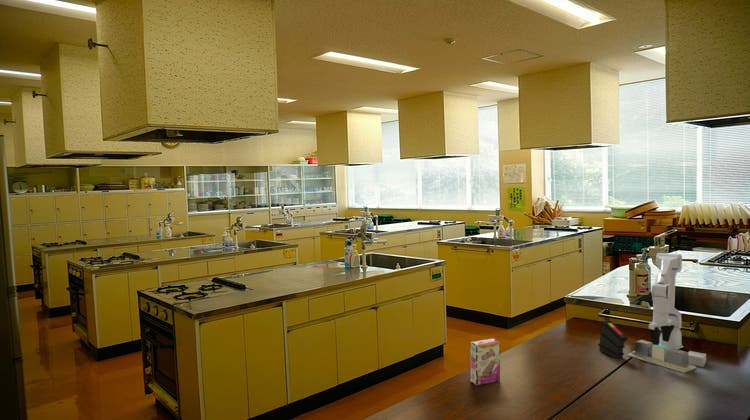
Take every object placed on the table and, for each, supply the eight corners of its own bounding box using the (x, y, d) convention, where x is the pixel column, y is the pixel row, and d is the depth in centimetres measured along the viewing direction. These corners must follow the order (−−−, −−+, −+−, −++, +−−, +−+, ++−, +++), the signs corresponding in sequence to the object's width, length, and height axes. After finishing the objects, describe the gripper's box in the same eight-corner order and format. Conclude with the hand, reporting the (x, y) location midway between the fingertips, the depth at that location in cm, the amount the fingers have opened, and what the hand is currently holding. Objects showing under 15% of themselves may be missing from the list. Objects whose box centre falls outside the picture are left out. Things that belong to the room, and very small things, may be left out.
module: (657, 355, 211) (657, 343, 211) (669, 359, 207) (669, 346, 207) (652, 357, 209) (652, 345, 209) (664, 361, 205) (664, 348, 205)
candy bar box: (477, 386, 188) (476, 345, 188) (470, 382, 193) (469, 341, 192) (501, 381, 192) (500, 341, 192) (493, 377, 197) (493, 337, 196)
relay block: (689, 359, 210) (689, 350, 210) (706, 363, 206) (706, 354, 205) (686, 363, 205) (686, 354, 205) (702, 367, 201) (703, 357, 201)
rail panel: (639, 351, 221) (639, 337, 220) (696, 368, 200) (696, 352, 200) (627, 355, 216) (627, 340, 216) (684, 373, 195) (684, 356, 195)
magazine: (599, 344, 227) (610, 319, 220) (619, 365, 216) (631, 339, 209) (593, 345, 226) (603, 320, 219) (613, 366, 215) (625, 340, 208)
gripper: (660, 316, 200) (660, 348, 201) (679, 311, 207) (679, 342, 208) (643, 312, 206) (643, 344, 207) (663, 307, 213) (663, 337, 214)
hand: (660, 342), depth 208 cm, fingers open, 7 cm apart
